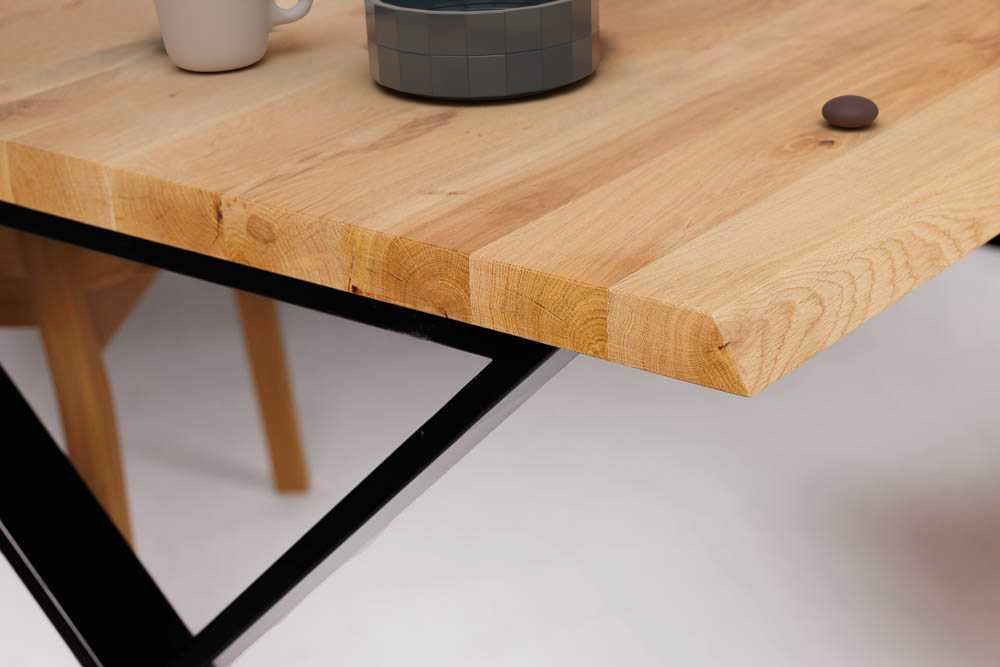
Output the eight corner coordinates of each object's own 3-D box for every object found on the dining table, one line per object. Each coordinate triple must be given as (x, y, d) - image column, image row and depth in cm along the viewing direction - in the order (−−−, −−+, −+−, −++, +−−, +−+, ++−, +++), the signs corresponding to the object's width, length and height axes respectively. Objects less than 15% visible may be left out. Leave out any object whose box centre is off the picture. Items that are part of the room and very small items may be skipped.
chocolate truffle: (819, 132, 77) (821, 104, 76) (821, 116, 80) (823, 88, 79) (877, 134, 76) (879, 105, 76) (877, 118, 79) (879, 90, 78)
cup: (309, 39, 101) (297, -78, 98) (332, 65, 94) (320, -60, 91) (153, 56, 98) (135, -63, 95) (165, 85, 91) (146, -43, 88)
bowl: (518, 119, 81) (514, 22, 79) (325, 90, 89) (316, 0, 86) (639, 60, 92) (639, -27, 90) (457, 38, 99) (453, -43, 97)
